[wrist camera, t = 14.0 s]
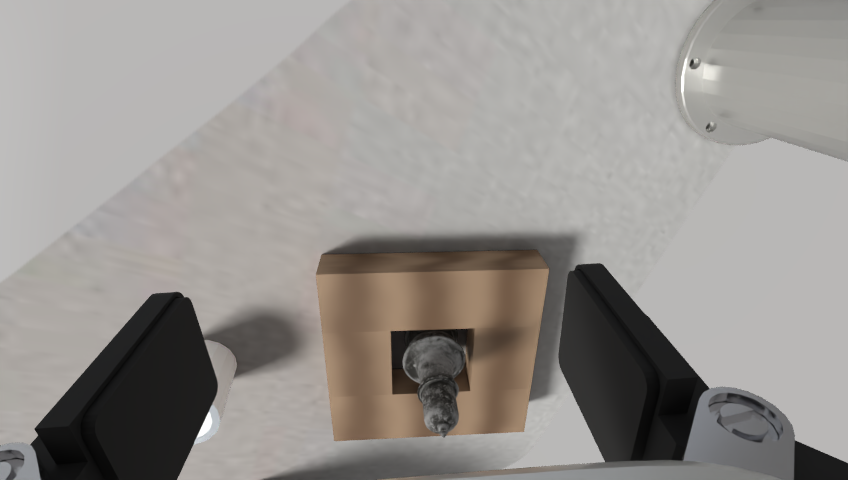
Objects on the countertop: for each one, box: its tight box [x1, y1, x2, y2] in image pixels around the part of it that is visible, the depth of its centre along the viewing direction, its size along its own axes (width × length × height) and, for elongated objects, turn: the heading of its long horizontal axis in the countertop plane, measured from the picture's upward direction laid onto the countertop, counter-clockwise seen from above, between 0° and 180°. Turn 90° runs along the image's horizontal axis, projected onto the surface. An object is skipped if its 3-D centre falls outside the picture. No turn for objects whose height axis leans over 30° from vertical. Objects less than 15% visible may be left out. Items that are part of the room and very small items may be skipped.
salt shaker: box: [402, 329, 465, 437], centre depth 40 cm, size 6×6×12 cm
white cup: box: [194, 340, 237, 444], centre depth 41 cm, size 7×7×7 cm
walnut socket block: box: [316, 250, 549, 441], centre depth 43 cm, size 20×20×4 cm
